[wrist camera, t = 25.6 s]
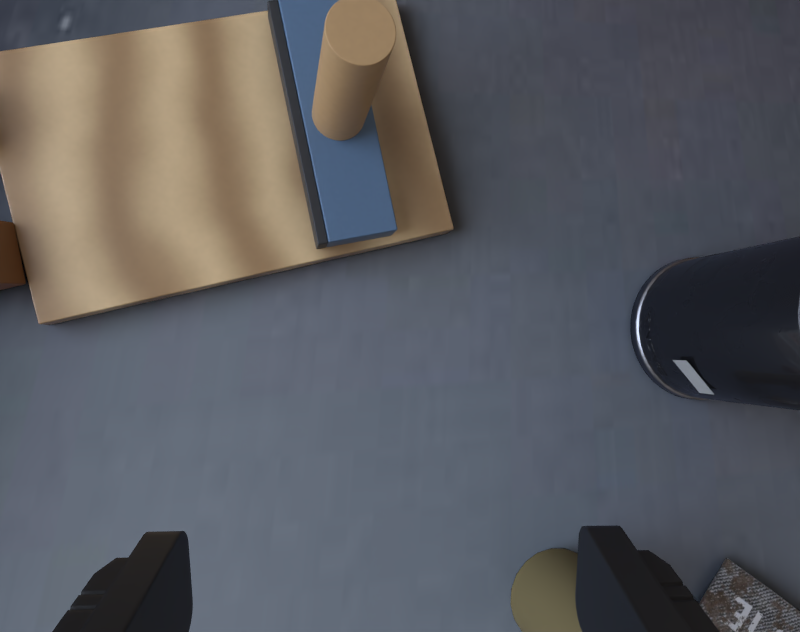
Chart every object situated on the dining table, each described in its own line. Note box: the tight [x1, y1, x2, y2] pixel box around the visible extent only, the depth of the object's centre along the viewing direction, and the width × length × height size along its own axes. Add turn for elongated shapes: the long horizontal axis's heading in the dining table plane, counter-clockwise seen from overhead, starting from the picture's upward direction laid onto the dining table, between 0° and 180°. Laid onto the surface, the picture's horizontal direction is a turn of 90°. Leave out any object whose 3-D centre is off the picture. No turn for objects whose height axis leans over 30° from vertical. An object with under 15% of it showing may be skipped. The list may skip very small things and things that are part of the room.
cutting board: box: [0, 0, 454, 325], centre depth 38 cm, size 24×15×2 cm, turn 104°
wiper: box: [268, 0, 397, 249], centre depth 33 cm, size 5×14×12 cm, turn 12°
